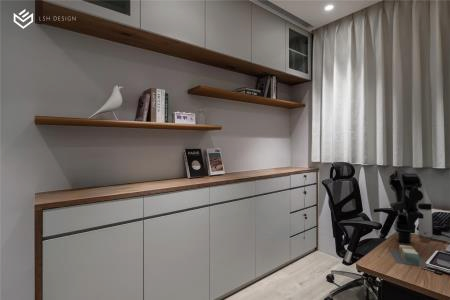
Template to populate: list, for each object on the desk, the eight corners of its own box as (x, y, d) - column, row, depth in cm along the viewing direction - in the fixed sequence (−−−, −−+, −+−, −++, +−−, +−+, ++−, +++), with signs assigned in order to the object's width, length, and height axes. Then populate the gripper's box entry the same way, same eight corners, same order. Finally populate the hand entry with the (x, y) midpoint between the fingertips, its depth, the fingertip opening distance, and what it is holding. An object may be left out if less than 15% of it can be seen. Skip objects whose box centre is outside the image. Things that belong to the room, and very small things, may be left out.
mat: (388, 250, 125) (388, 249, 125) (417, 254, 120) (417, 253, 120) (396, 264, 110) (396, 263, 110) (429, 269, 105) (429, 267, 105)
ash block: (399, 244, 118) (405, 252, 109) (411, 246, 116) (418, 254, 107) (399, 255, 118) (405, 263, 109) (412, 256, 116) (419, 265, 107)
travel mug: (427, 239, 139) (427, 204, 140) (416, 235, 146) (415, 202, 146) (435, 237, 141) (434, 203, 141) (423, 234, 147) (422, 201, 148)
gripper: (387, 193, 136) (388, 221, 136) (395, 200, 119) (396, 231, 119) (411, 194, 132) (412, 223, 132) (423, 201, 115) (424, 234, 115)
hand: (410, 227), depth 124 cm, fingers closed
